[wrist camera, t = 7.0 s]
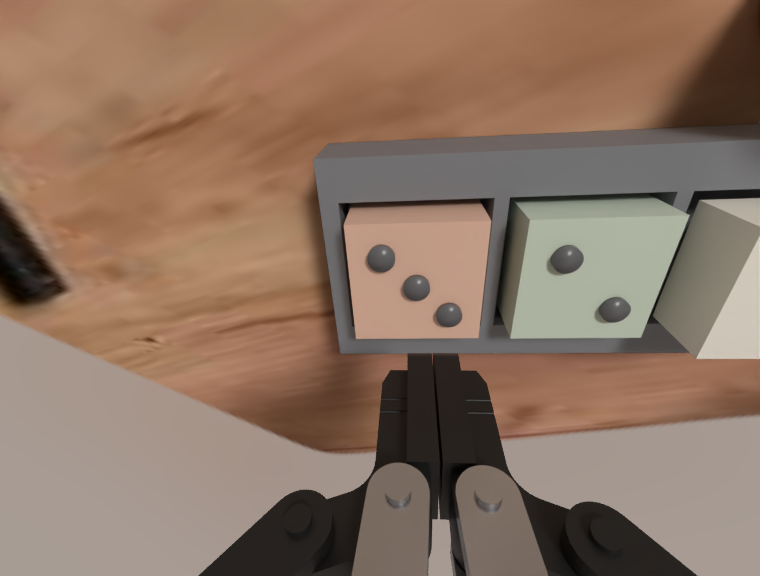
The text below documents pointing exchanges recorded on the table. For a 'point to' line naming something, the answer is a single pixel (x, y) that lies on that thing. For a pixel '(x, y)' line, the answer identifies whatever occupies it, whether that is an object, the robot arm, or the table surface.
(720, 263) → the tile one
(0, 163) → the table surface
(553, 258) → the tile two
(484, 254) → the tile three
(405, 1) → the table surface
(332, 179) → the well board
